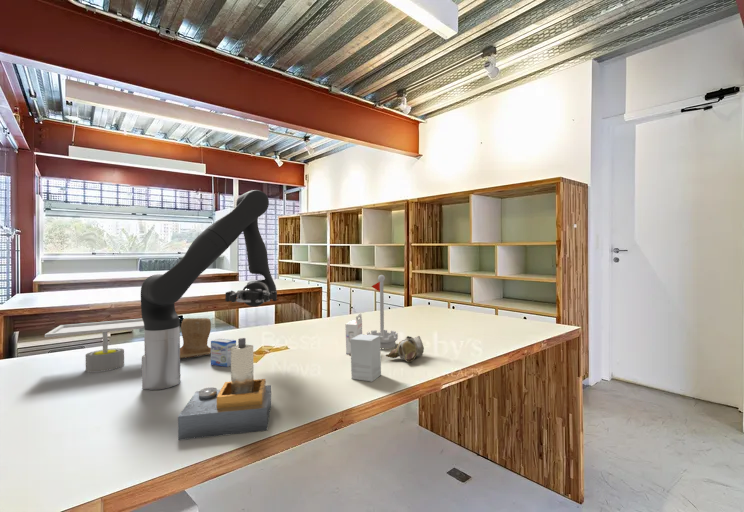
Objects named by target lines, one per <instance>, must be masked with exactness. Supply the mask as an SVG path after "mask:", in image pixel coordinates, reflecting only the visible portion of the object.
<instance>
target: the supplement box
mask: <svg viewBox="0 0 744 512" xmlns="http://www.w3.org/2000/svg"><path fill="white" fill-rule="evenodd" d="M381 350H382V349H380V336H376V335H367V334H363V333H362V334H360V335H358V336H356V337H354V338H352V339H351V354H350V363H351V364H350V367H351V370H350V372H351V379H352V380H357V381H364V382H374V381H375V380H377V379H378V378H379V377H380V376H381V374H382V357H381V352H382V351H381Z"/></svg>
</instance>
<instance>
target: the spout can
mask: <svg viewBox="0 0 744 512" xmlns="http://www.w3.org/2000/svg"><path fill="white" fill-rule="evenodd" d="M246 342H247V341H246V338H245V337H239V338H238V345H237V344H236V346H234V347H231V366H230V382H231V395H233V394H244V393H254V380H255V378H254V345H253V344H247V343H246Z"/></svg>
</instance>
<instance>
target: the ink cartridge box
mask: <svg viewBox="0 0 744 512" xmlns="http://www.w3.org/2000/svg"><path fill="white" fill-rule="evenodd" d="M355 318H356V319H353V320H349V321H348V322H347V323H345V354H346V355H351V339H352V338H354V337H356V336H358V335H360V334H363V317H362V313H359V314H358V315H356V317H355Z"/></svg>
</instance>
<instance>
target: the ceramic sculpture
mask: <svg viewBox="0 0 744 512" xmlns="http://www.w3.org/2000/svg"><path fill="white" fill-rule="evenodd" d="M424 350H425V346H424V343H423V341H422V338H421V337H420V335H418V336H416V337H412V336H409V335H407V336H406V337H405V338H404V339H401V340H400V341H399V342H398V344H397V347H396V348H393V349H392V350H391V351H390V352H388V354H385V357H387V358H391V359H396V358H400V359H402V360H403V361H406V362H408V363H411V362H413V361H414V360H415V358H416V357H421V356H423V354H424V352H425V351H424Z"/></svg>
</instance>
